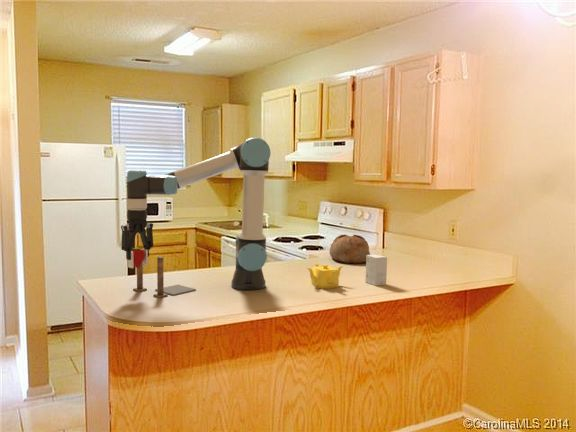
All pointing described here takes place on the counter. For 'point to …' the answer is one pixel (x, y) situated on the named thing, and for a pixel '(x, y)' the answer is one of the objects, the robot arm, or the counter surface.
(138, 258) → the strawberry
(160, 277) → the post
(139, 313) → the counter surface
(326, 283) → the teapot
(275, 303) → the counter surface
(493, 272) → the counter surface
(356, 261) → the bread
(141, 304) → the counter surface
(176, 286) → the slate coaster
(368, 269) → the small box
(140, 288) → the post
